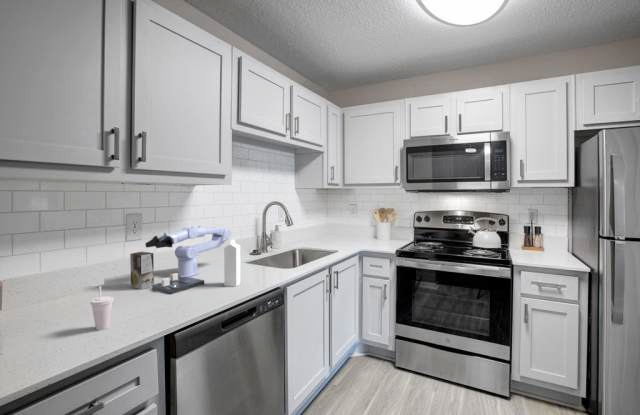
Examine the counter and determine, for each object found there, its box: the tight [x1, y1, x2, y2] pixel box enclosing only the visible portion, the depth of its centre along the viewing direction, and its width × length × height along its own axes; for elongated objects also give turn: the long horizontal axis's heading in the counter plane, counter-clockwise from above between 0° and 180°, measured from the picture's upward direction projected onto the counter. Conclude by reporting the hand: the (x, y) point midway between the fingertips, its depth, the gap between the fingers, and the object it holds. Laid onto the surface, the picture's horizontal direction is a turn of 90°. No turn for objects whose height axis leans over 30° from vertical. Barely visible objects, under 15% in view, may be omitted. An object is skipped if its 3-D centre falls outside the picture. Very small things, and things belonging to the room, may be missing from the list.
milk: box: [223, 239, 241, 287], centre depth 158 cm, size 6×6×22 cm
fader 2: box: [169, 272, 179, 281], centre depth 157 cm, size 3×2×3 cm, turn 150°
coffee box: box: [129, 251, 155, 290], centre depth 154 cm, size 9×6×16 cm
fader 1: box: [161, 277, 170, 287], centre depth 148 cm, size 3×2×3 cm, turn 150°
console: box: [151, 276, 205, 295], centre depth 154 cm, size 18×14×3 cm
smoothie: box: [90, 285, 114, 331], centre depth 107 cm, size 6×6×14 cm
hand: (151, 245), depth 156 cm, fingers open, 7 cm apart
